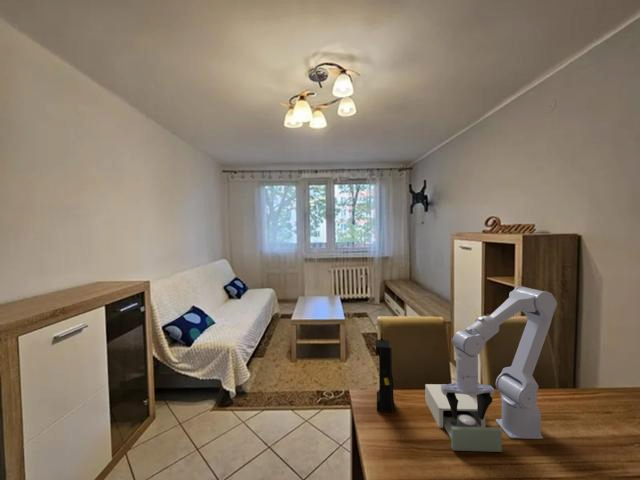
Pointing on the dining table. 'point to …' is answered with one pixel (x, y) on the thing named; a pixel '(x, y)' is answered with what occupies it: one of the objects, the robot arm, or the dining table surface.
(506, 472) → the dining table surface
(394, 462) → the dining table surface
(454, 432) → the grey green drawer
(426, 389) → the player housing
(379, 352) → the portable radio
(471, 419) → the grey cylinder white face
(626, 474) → the dining table surface
